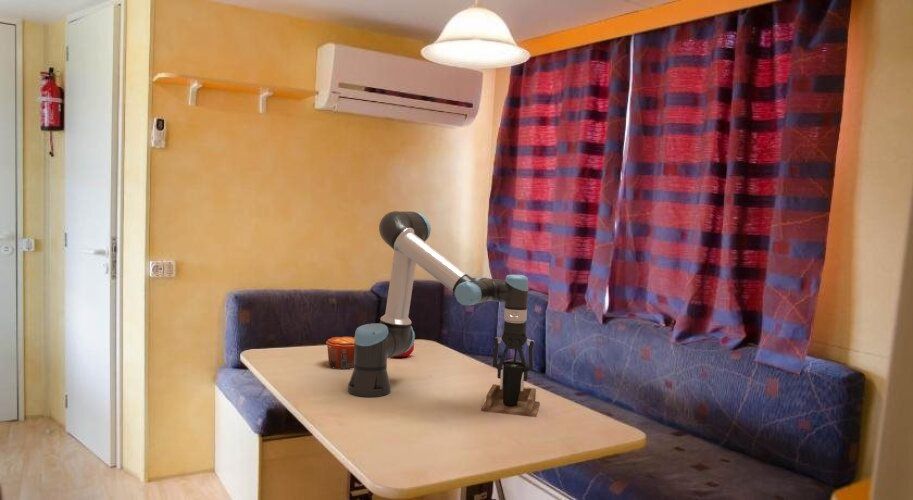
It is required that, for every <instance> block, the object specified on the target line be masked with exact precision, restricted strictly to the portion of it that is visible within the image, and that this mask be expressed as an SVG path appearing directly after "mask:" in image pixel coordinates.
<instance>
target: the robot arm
mask: <svg viewBox="0 0 913 500" xmlns="http://www.w3.org/2000/svg"><path fill="white" fill-rule="evenodd" d="M378 225H379V226H378V232H379V235H380V237H381V239H382V240H383V241H384V243H386V244H387V245H388V246H389V247H390V248H391V249H392V250H393V257H392V263H391V264H392V265H391V271H390V279H389V287H388V293H387V299H386V308H385V313H384V315H382V316H381V317H380V321H379V323H378V322H377V323H376V322H375V323H367V324H366V323H365V324H362V325H360V326H358V327H357V328H356V330H355V333H354V337H353V338H354V369H352V373H351V376H350V380H349V381H348V385H347V392H348V393H349V394H350V393H351V394H350V395H353V396H356V395H357V396H356V397H363V398H365V397H366V398H371V397H373V398H375V397H376V398H377V397H382V396H386V395H389V394H391V392H392V384H391V381H390V377H389V374H388V368H387V367H388V366H387V365H388V359H389V358H393V357H394V356H396V355H401V354H403V353H405V352H407V351H408V350H409V349H410V348H411V347H412V346H413V344H414V345H415V340H416V339H415V338H416V334H415V331H414V329H413V327H412V320H411V319H410V318H409V314H410V308H411V307H410V306H411V301H412V292H413V288H414V285H413V284H414V279H415V273H416V268H417V267H416V265H417V266H419V267H420V268H422V269H423V270H424V271H426V272H427V273H428V274H430V276H432V277H433V278H434V279H436V280H437V281H438V282H440V283H441V284H442V285H443V286H445V288H447V289H448V290H449V291H451V292H452V293H453V294H454V297H455V299H456V301H457V302H458V303H459V304H460V305H462V306H474V305H478V304H482V303H485V302H498V303H499V302H500V303H504V313H503V316H504V317H503V320H504V321H503V333H502V335H501V336H495V337H494V338H493V342H494V349H493V351H494V352H493V358H492V367H493V368H496V370H497V375H496V377H497V379H500V381H499V382H500V384H499V385H500V389H503V375H504V365H503V362H504V361H506V359H507V355H508V353H509V350H512V349H514V350H515V349H517V352H518V354H519V358H520V361H521V362H522V365H524V366H525V368H524V372H523V374H522V378H521V391H523V389H524V387H525V382H527V380H528V374H529V372H530V371H533V369H534V345H535V343H536V342H535V340H534V339H529V338H528V337H527V335H526V334H527V323H526V321H527V319H528V317H527V316H528V297H529V278H528V277H527V276H525V275H524V274H507V275H506V276H505V279H496V278H489V277H476V278H473V277H471V276H470V275H469V274H467V272H465V271H464V270H462V269H461V268H460V267H458V266H457V265H456V264H455V263H453V261H451V260H449V259H448V258H447V257H445V256H444V255H443V254H442V253H440V252H439V251H438V250H436V249H435V248H433V246H431V245H429V244H428V243H427V242H426V241H427V240H428V239H429V237H430V235H431V231H432V230H431V224H430V221H429V220H428V218H427V216H425V215H424V214H422V213H420V212H416V211H408V210H407V211H399V210H394V211H390V212H388V213H386V214H384V215H383V217H382V218H381V219H380V221H379V224H378ZM501 342H503V343H504V345H505V348H504V350H503V352H502V355H501V358H500V360H499V363H498V358H499V352H500V344H501ZM525 344H526V345H527V347H528V364H527V359H526V357H525V353H524V348H523V346H524V345H525Z"/></svg>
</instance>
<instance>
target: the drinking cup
mask: <svg viewBox="0 0 913 500" xmlns="http://www.w3.org/2000/svg"><path fill="white" fill-rule="evenodd" d="M517 352H518V350H517V349H514V354H513V359H507V360H505V361H504V362H503V368H504V375H503V403H504V404H506V405H517V403H518V398H519V393H520V388H521V378H522V374H523V372H524V368H525V366H524V365H522V362H521V360H519V359H517Z"/></svg>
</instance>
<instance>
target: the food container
mask: <svg viewBox="0 0 913 500" xmlns="http://www.w3.org/2000/svg"><path fill="white" fill-rule="evenodd" d="M354 338H355V337H352V336H342V337H341V336H340V337H339V336H335V337H331V338H329V339H327V340H326V341H325V344H326V346H327V357H328V365H329V367H330V368H332V367H334V368H333V369H336V368H340V369H339V370H351V369H350V368H354Z"/></svg>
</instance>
